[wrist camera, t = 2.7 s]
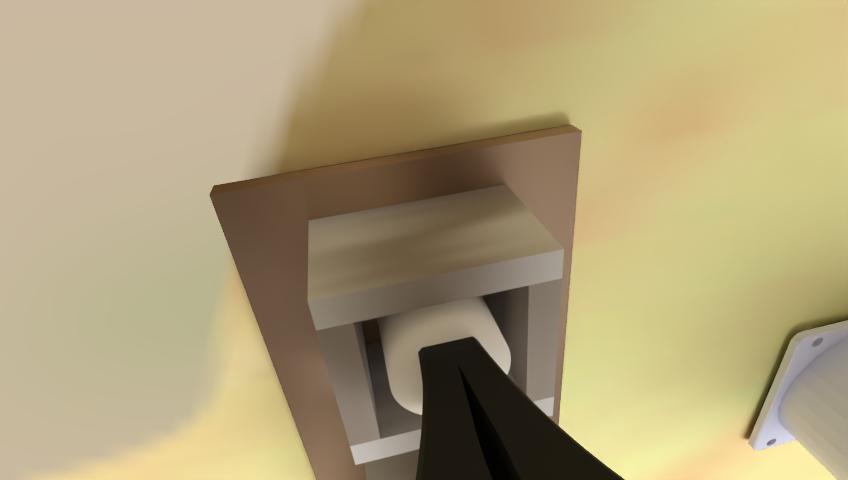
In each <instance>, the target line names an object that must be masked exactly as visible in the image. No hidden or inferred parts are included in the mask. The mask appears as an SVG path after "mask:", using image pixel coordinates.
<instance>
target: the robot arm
mask: <svg viewBox="0 0 848 480" xmlns="http://www.w3.org/2000/svg"><path fill="white" fill-rule="evenodd" d="M418 356H419V362H420V369H421V376H422V383H423V405H422V428H421V438H420V448H419V457H418V466H417V473H416V480H624V479H623V478H622V477H620V476H619V475H618V474H616V473H615V472H614V471H612V470H611V469H610V468H608V467H607V466H606V465H605V464H603V463H602V462H601V461H599V460H598V459H597V458H596V457H594V456H593V455H592V454H591V453H589V452H588V451H587V450H586V449H585V448H583V447H582V446H581V445H580V444H579V443H577V442H576V441H575V440H574V439H573V438H572V437H570V436H569V435H568V434H567V433H566V432H565V431H564V430H562V429H561V428H560V427H559V426H558V425H557V424H556V423H555V422H554V421H553V420H551V419H550V418H549V417H548V416H547V415H546V414H545V413H544V412H543V411H542V410H541V409H540V408H539V407H538V406H537V405H536V404H535V403H534V402H533V401H532V400H531V399H530V398H529V397H528V396H527V395H526V394H525V393H524V392H523V391H522V390H521V389H520V388H519V387H518V386H517V385H516V384H515V383H514V382H513V381H512V380H511V379H510V378H509V377H508V375H507V374H506V373H505V372H504V371H503V370H502V369H501V368H500V367H499V365H498V364H497V363H496V362H495V361H494V360H493V358H492V357H491V356H490V355H489V354H488V352H487V351H486V350H485V349H484V347H483V346H482V345H481V344H480V342H479V341H478V340H477V339H476V338H475V337H473V336H471V337H467V338H463V339H458V340H454V341H449V342H445V343H440V344H436V345H431V346H427V347H422V348H421V349H420V351H419V352H418ZM795 440H797V441H798V442H799V443H800V444H801V445H802V446H803V447H804V448H805V449H806V450H807V451H808V452H809V453H811V454H812V455H813V456H814V457H815V458H816V459H817V460H818V461H819V462H820V463H821V464H822V465H823V466H824V467H825V468H826V469H827V470H828V471H829V472H830V473H831V474H832V475H833V476H834V477H835V478H836V479H837V480H848V320H846V321H842V322H838V323H834V324H830V325H826V326H822V327H817V328H813V329H809V330H805V331H802V332H799V333H798V334H796V335H795V336H794V337H793V338H792V339H791V341H790V343H789V346H788V348H787V350H786V353H785V355H784V358H783V360H782V362H781V365H780V367H779V369H778V372H777V374H776V377H775V379H774V381H773V384H772V386H771V388H770V391H769V393H768V396H767V398H766V400H765V403H764V405H763V407H762V410H761V412H760V415H759V417H758V419H757V422H756V424H755V427H754V429H753V431H752V434H751V436H750V438H749V442H748V443H749V445H750V446H751V447H752V448H753V449H754V450H762V449H766V448H769V447H773V446H776V445H780V444H784V443H787V442H791V441H795Z"/></svg>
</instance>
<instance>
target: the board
mask: <svg viewBox="0 0 848 480" xmlns="http://www.w3.org/2000/svg"><path fill="white" fill-rule="evenodd" d="M581 133H582V131H581V130H579V129H577V128H576V127H574V126H572V125H568V126H562V127H556V128H550V129H545V130H539V131H533V132H527V133H521V134H515V135H509V136H503V137H497V138H491V139H486V140H480V141H474V142H468V143H462V144H456V145H450V146H444V147H438V148H433V149H427V150H421V151H415V152H409V153H403V154H397V155H391V156H385V157H379V158H374V159H368V160H362V161H356V162H350V163H344V164H338V165H332V166H326V167H321V168H315V169H309V170H303V171H297V172H291V173H285V174H279V175H273V176H267V177H262V178H256V179H250V180H244V181H238V182H232V183H226V184H220V185H214V186H213V189H212V191H211V193H210V197H211V200H212V203H213V206H214V208H215V211H216V214H217V216H218V219H219V221H220V224H221V227H222V229H223V232H224V235H225V237H226V240H227V243H228V245H229V248H230V251H231V253H232V256H233V259H234V261H235V264H236V267H237V269H238V272H239V275H240V277H241V280H242V283H243V285H244V288H245V291H246V293H247V296H248V299H249V301H250V304H251V307H252V309H253V312H254V314H255V317H256V320H257V322H258V325H259V328H260V330H261V333H262V336H263V338H264V341H265V344H266V346H267V349H268V352H269V354H270V357H271V360H272V362H273V365H274V368H275V370H276V373H277V376H278V378H279V381H280V384H281V386H282V389H283V392H284V394H285V397H286V400H287V402H288V405H289V408H290V410H291V413H292V415H293V418H294V421H295V423H296V426H297V429H298V431H299V434H300V437H301V439H302V442H303V445H304V447H305V450H306V453H307V455H308V458H309V461H310V463H311V466H312V469H313V471H314V474H315V477H316V479H317V480H416V473H417V466H418V457H419V448H420V438H421V428H422V415H419V414H416V413H413V412H411V411H409V410H407V409H405V408H404V407H402V406H401V405H400V404H399V403H398V402H397V401H396V399H395V398H394V396H393V394H392V392H391V389H390V385H389V379H388V374H387V368H386V363H385V358H384V352H383V347H382V341H381V336H380V331H379V325H378V320H377V318H378V317H383V316H387V315H392V314H397V313H401V312H406V311H411V310H415V309H420V308H425V307H430V306H434V305H439V304H444V303H448V302H453V301H458V300H463V299H467V298H472V297H477V296H481V295H482V297H483V299H484V301H485V303H486V305H487V307H488V308H489V310H490V312H491V314H492V316H493V318H494V320H495V322H496V324H497V326H498V328H499V330H500V332H501V334H502V336H503V337H504V339H505V341H506V343H507V345H508V347H509V350H510V354H511V365H510V369H509V372H508V377H509V378H510V379H511V380H512V381H513V382H514V383H515V384H516V385H517V386H518V387H519V388H520V389H521V390H522V391H523V392H524V393H525V394H526V395H527V396H528V397H529V398H530V399H531V400H532V401H533V402H534V403H535V404H536V405H537V406H538V407H539V408H540V409H541V410H542V411H543V412H544V413H545V414H546V415H547V416H548V417H549V418H550V419H551V420H553V421H554V422H555V423H556V424H557V425H558V424H559V411H560V399H561V386H562V373H563V361H564V348H565V335H566V323H567V310H568V297H569V285H570V272H571V260H572V247H573V234H574V222H575V209H576V196H577V184H578V171H579V159H580V146H581Z"/></svg>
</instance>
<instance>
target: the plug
mask: <svg viewBox="0 0 848 480" xmlns="http://www.w3.org/2000/svg"><path fill="white" fill-rule="evenodd" d="M377 320H378V325H379V331H380V336H381V341H382V347H383V352H384V358H385V363H386V368H387V374H388V379H389V385H390V389H391V392H392V394H393V396H394V398H395V399H396V401H397V402H398V403H399V404H400V405H401V406H402V407H404V408H405V409H407V410H409V411H411V412H413V413H416V414H419V415H422V405H423V383H422V376H421V369H420V362H419V356H418V352H419V351H420V349H421V348H422V347H427V346H431V345H436V344H440V343H445V342H449V341H454V340H458V339H463V338H467V337H471V336H473V337H475V338H476V339H477V340H478V341H479V342H480V344H481V345H482V346H483V347H484V349H485V350H486V351H487V352H488V354H489V355H490V356H491V357H492V358H493V360H494V361H495V362H496V363H497V364H498V365H499V367H500V368H501V369H502V370H503V371H504V372H505V373H506V374H507V375H508V372H509V369H510V365H511V354H510V350H509V347H508V345H507V343H506V341H505V339H504V337H503V336H502V334H501V332H500V330H499V328H498V326H497V324H496V322H495V320H494V318H493V316H492V314H491V312H490V310H489V308H488V307H487V305H486V303H485V301H484V299H483V297H482V295H481V296H477V297H472V298H467V299H463V300H458V301H453V302H448V303H444V304H439V305H434V306H430V307H425V308H420V309H415V310H411V311H406V312H401V313H397V314H392V315H387V316H383V317H378V318H377Z"/></svg>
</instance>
